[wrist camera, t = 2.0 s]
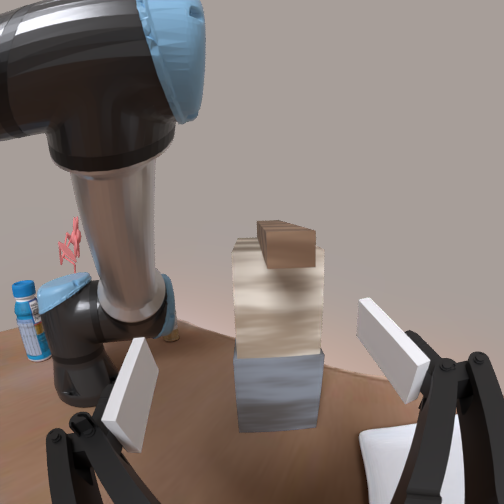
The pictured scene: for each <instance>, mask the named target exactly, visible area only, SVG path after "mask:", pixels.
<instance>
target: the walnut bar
mask: <svg viewBox="0 0 504 504" xmlns="http://www.w3.org/2000/svg"><path fill="white" fill-rule="evenodd" d="M257 238H258V241H259V245H260V248H261V251H262V254H263V257H264V260H265V264H266V267H267V269H287V268H311V267H316V232H315V231H314V230H311V229H308V228H304V227H301V226H297V225H294V224H290V223H287V222H283V221H279V220H274V221H257Z"/></svg>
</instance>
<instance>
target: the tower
mask: <svg viewBox="0 0 504 504" xmlns="http://www.w3.org/2000/svg"><path fill="white" fill-rule="evenodd" d="M232 274H233V294H234V313H235V329H236V339H235V349H234V358H233V364H234V377H235V390H236V402H237V413H238V424H239V433H241V432H271V431H286V430H297V429H306V428H314V427H316V424H317V417H318V410H319V402H320V394H321V385H322V376H323V366H324V353H323V351H322V349H321V334H322V316H323V293H324V249H322V248H320V247H318V246H316V267H311V268H287V269H267V267H266V264H265V260H264V257H263V254H262V251H261V248H260V245H259V241H258V238H238V239H237V242H236V244H235V246H234V248H233V251H232Z"/></svg>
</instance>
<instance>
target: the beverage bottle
mask: <svg viewBox="0 0 504 504" xmlns="http://www.w3.org/2000/svg"><path fill="white" fill-rule="evenodd" d="M12 290H13V295H14V298H15V299H17V300H16V303H15V314H16V315H17V325H18V326H19V330H20V333H21V337H22V340H23V343H24V346H25V349H26V352H27V356H28V358H29V359H30V360H31V361H34V362H41V361H44V360H47V359H49V358H50V357H51V356H52V355H51V352H50V349H49V346H48V343H47V339H46V336H45V332H44V329H43V325H42V321H41V317H40V314H39V307H38V300H37V298H36V297H35V296H34V295H35V294H36V291H35V286H34V282H33V281H32V280H25V281H20V282H16V283H14V284H13V285H12Z"/></svg>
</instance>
